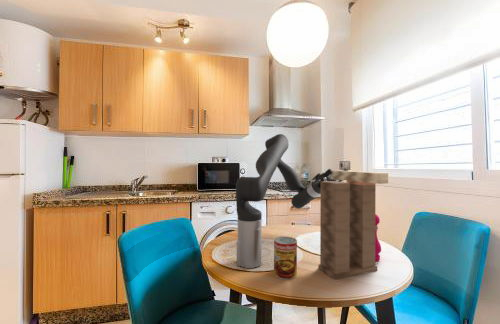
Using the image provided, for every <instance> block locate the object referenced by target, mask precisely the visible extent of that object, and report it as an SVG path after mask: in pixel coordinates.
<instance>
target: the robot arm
mask: <svg viewBox="0 0 500 324" xmlns="http://www.w3.org/2000/svg"><path fill="white" fill-rule="evenodd" d="M264 144H265V146H264V147H265V150H264V151H262V153H261V154H259V157H258V158H257V159H256V162H255V171H256V172H257V173H258V175H259V176H240V177H239V178H238V179H237V181H236V184H235V200H236V213H237V240H236V267H240V266H241V267H240V268H243V267H245V268H244V269H255V267H256V268H258V266H259V267H260V266H261V265H262V253H263V252H262V248H263V247H262V246H263V245H262V243H263V242H262V241H263V240H262V237H263V236H262V232H263V231H262V228H263V227H262V220H263V219H262V216H263V215H262V212H261V210H260V209H257V208H255V207H254V206H252V205H251V204H250V202H258V203H259V202H261V201H262V200H264V198H265V196H266V194H267V192H268V191H267V190H268V187H269V185H270V181H271V180H272V177H273V175H274V174H275V171H276V170H277V169H278V171H279V172H280V174H281V176H282V177H283V179H284V181H285V183H286V186H287V188H288V190H289V191H291V192H295V191H296V192H297V194H295V195H294V196H292V198H291V205H292V207H294V208H295V209H302V208H304V207H305V206H307V205H309V204H310V202H311V201H314V200H315V199H317V198H318V197H321V182H323V181H337V182H344V180H337V179H331V174H332V171H333V169H332V168H328V169H327V170H326V171H324V172H322V173H320V172H319V173H317V174H316V175H315V176H313V178H311V181H310V182H309V183H308V184H307V186H305V187H304V185H303V184H302V182H301V181H300V178H299V176H298V174H297V172H296V171H295V169H294V168H292V167H291V166H289V165H288V164H287V163H286V162H285V161H283V160H282V157H283V156H284V154H285V153H286V152H287V150H288V149H289V140H288V137H287V136H286V135H284V134H283V133H279V134H276V135H274V136H272V137H270V138H268V139H266V141H265V143H264ZM342 171H349V170H348V168H344V169H343V170H342Z"/></svg>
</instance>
